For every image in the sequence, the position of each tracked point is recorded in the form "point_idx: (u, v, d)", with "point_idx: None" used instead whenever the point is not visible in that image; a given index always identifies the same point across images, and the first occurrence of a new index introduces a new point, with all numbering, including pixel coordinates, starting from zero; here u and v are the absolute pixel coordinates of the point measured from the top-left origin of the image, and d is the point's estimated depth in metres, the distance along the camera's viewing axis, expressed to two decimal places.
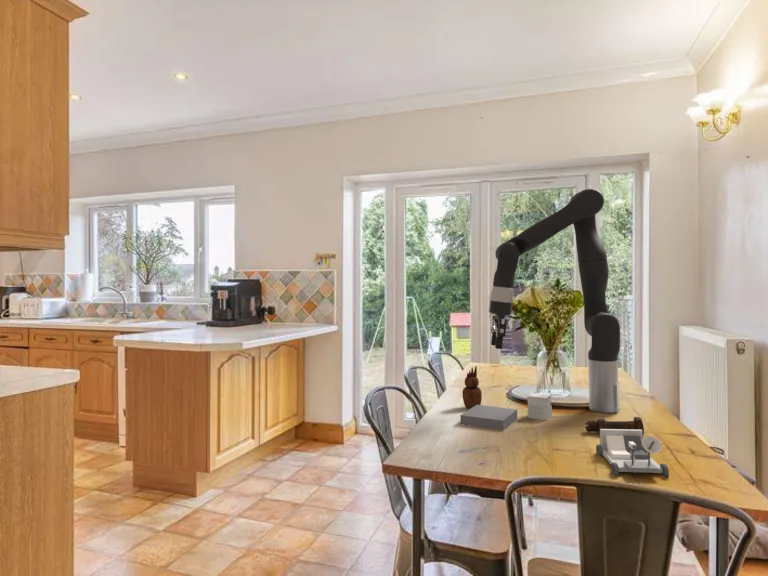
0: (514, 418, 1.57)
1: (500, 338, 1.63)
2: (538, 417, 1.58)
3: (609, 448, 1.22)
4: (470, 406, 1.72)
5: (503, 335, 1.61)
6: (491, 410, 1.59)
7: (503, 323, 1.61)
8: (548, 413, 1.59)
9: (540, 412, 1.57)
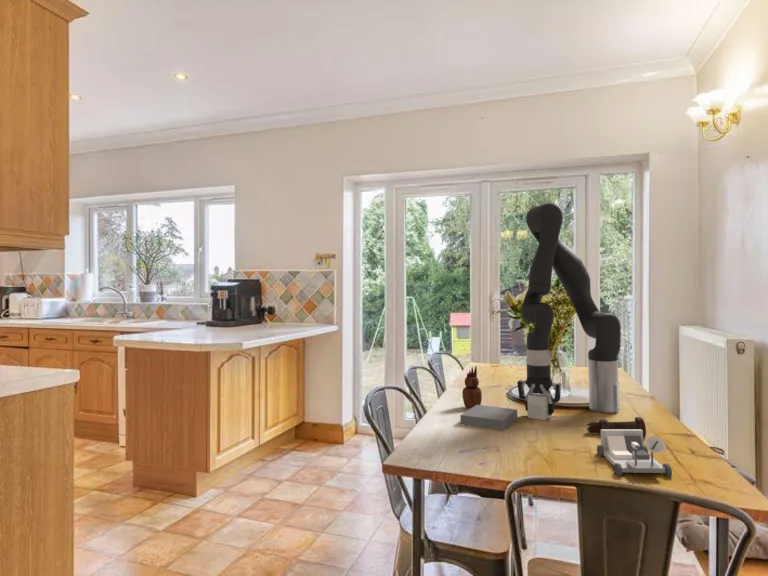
0: (514, 418, 1.57)
1: (553, 403, 1.58)
2: (538, 417, 1.58)
3: (610, 448, 1.22)
4: (470, 406, 1.72)
5: None
6: (491, 410, 1.59)
7: (560, 388, 1.57)
8: (548, 413, 1.59)
9: (540, 412, 1.57)
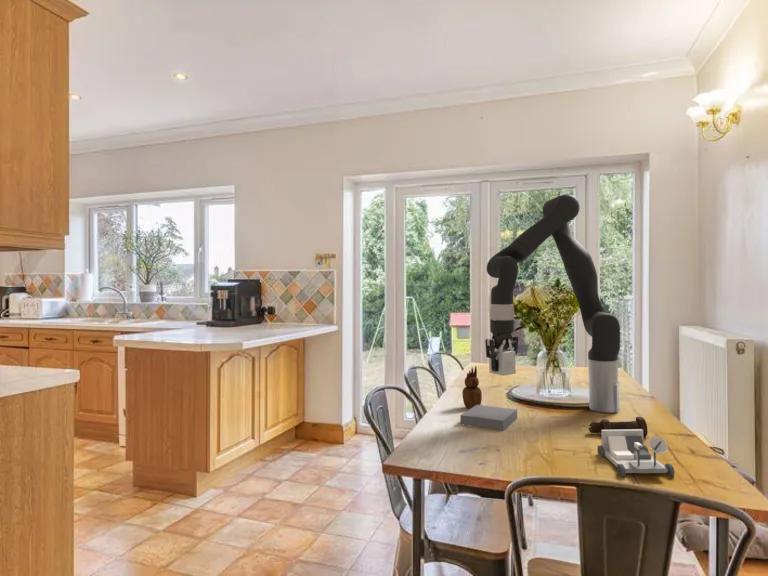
0: (514, 418, 1.57)
1: None
2: (510, 372, 1.55)
3: (612, 449, 1.22)
4: (470, 406, 1.72)
5: None
6: (491, 410, 1.59)
7: None
8: None
9: (512, 367, 1.56)
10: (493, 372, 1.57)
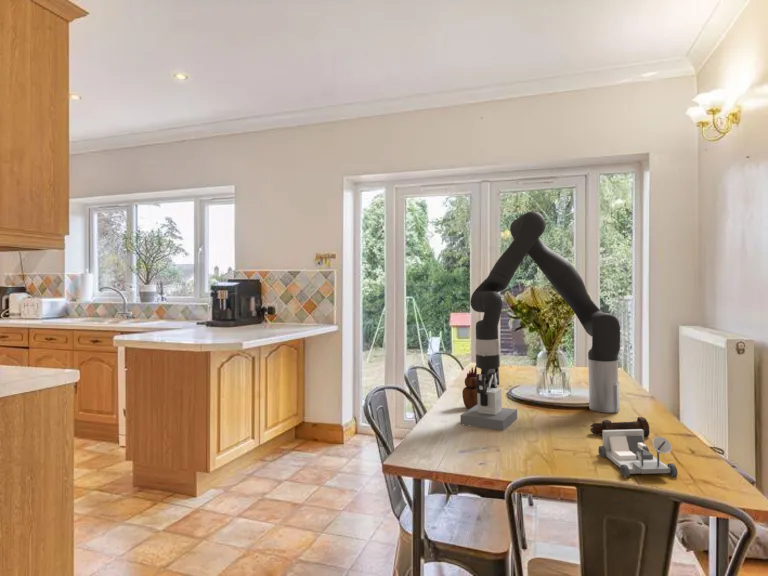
0: (514, 418, 1.57)
1: None
2: (499, 410, 1.56)
3: (613, 449, 1.22)
4: (470, 406, 1.72)
5: None
6: None
7: None
8: None
9: (500, 404, 1.57)
10: (483, 412, 1.56)
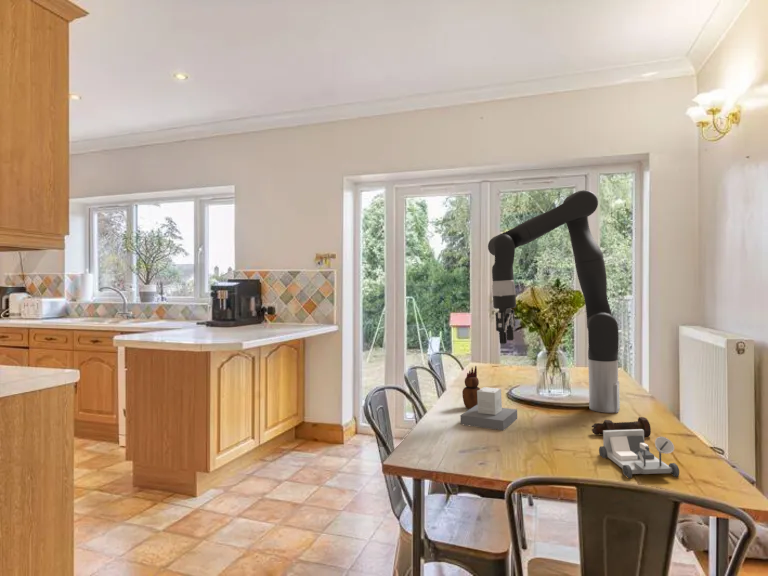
0: (514, 418, 1.57)
1: None
2: (499, 410, 1.56)
3: (614, 450, 1.21)
4: (470, 406, 1.72)
5: None
6: None
7: None
8: None
9: (500, 404, 1.57)
10: (483, 412, 1.56)
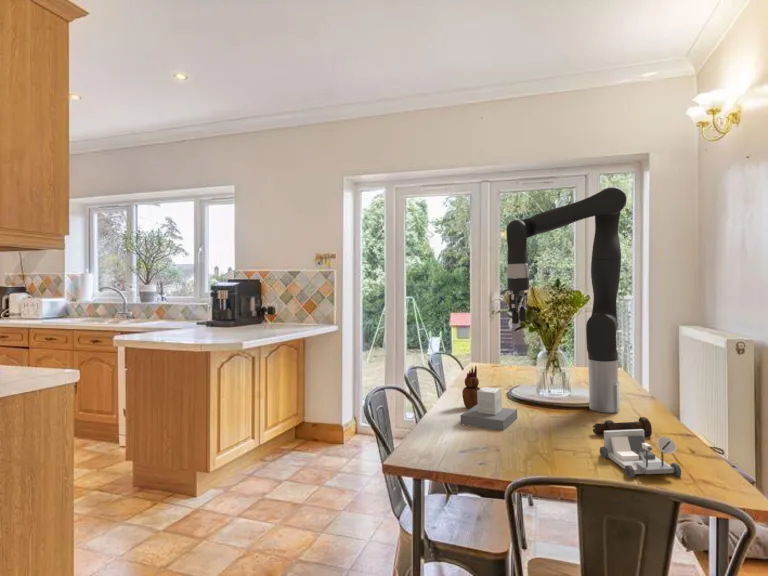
0: (514, 418, 1.57)
1: None
2: (499, 410, 1.56)
3: (615, 450, 1.21)
4: (470, 406, 1.72)
5: None
6: None
7: None
8: None
9: (500, 404, 1.57)
10: (483, 412, 1.56)
